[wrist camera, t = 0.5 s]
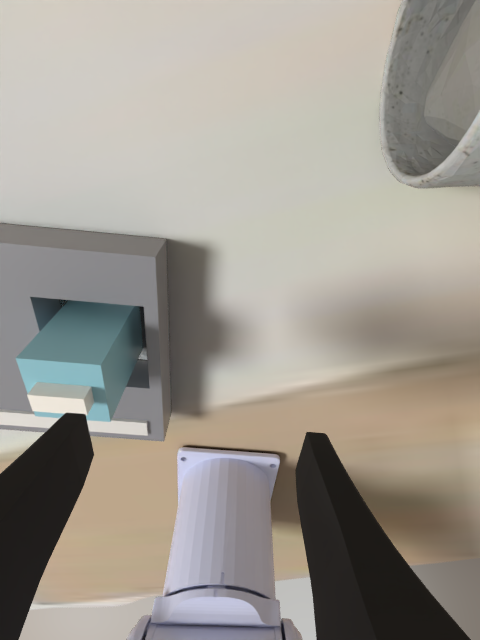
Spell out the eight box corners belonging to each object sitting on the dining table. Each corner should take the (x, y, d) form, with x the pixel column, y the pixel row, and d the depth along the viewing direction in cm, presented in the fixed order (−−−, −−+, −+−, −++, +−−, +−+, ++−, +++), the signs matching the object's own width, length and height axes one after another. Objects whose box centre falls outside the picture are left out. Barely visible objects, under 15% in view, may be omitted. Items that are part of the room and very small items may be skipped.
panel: (171, 412, 25) (163, 445, 22) (-69, 393, 24) (-104, 425, 22) (166, 238, 18) (153, 259, 15) (-172, 207, 17) (-239, 223, 15)
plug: (142, 347, 22) (104, 435, 16) (85, 342, 21) (26, 429, 16) (139, 297, 20) (93, 377, 14) (75, 292, 20) (4, 370, 14)
